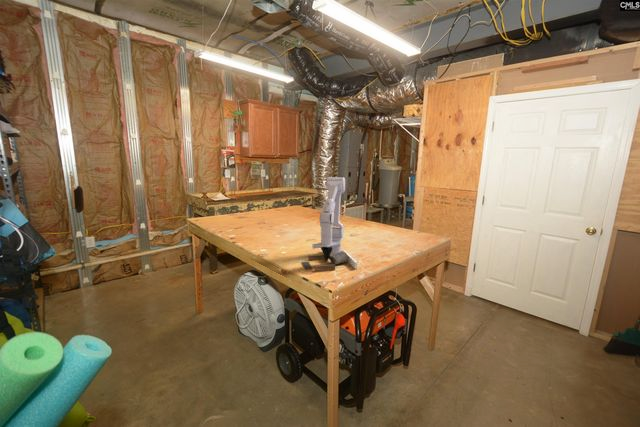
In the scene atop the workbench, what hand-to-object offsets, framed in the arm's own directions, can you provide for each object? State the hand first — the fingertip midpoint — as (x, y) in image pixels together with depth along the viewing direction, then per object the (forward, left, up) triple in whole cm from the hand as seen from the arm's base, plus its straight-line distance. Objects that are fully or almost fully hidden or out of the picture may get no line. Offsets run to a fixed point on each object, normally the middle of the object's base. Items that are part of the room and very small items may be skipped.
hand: (326, 260), depth 146 cm
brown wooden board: (0, -3, -2) cm, 3 cm away
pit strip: (0, -10, -2) cm, 10 cm away
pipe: (0, +2, +1) cm, 2 cm away
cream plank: (0, +13, -2) cm, 13 cm away
